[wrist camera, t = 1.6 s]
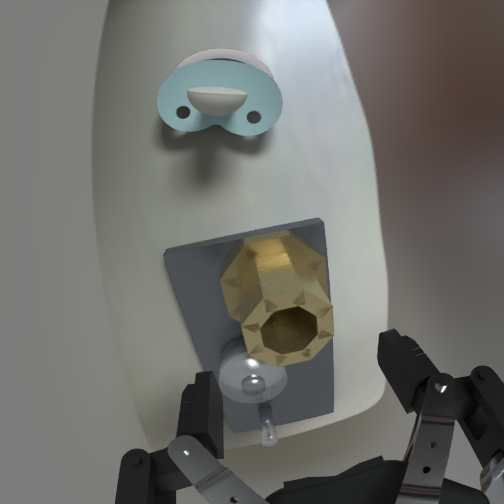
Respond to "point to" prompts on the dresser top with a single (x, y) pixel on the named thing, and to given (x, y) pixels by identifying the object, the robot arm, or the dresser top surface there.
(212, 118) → the pacifier
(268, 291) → the brass octagonal tube
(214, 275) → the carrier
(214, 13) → the dresser top surface
